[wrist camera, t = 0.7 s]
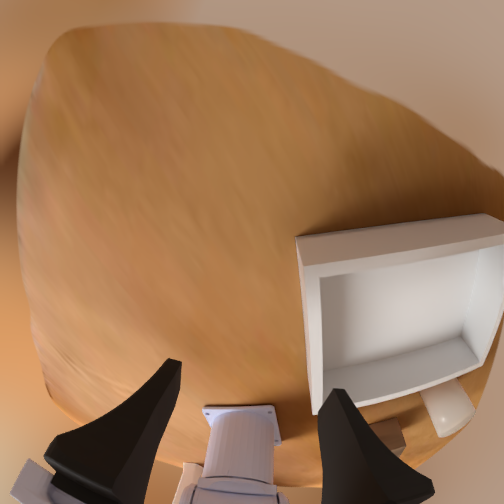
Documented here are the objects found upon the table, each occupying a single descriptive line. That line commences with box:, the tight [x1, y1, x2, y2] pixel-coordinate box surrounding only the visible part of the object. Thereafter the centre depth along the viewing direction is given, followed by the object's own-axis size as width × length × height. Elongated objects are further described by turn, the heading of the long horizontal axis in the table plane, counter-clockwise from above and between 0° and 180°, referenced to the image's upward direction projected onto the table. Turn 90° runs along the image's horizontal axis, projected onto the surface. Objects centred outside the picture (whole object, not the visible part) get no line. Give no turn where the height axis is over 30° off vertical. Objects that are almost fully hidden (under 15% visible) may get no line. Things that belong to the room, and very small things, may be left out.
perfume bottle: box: [172, 462, 203, 504], centre depth 27 cm, size 5×4×15 cm
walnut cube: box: [369, 417, 406, 458], centre depth 25 cm, size 5×5×5 cm
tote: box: [295, 213, 504, 415], centre depth 18 cm, size 14×18×5 cm
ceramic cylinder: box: [420, 377, 476, 437], centre depth 21 cm, size 5×5×7 cm
